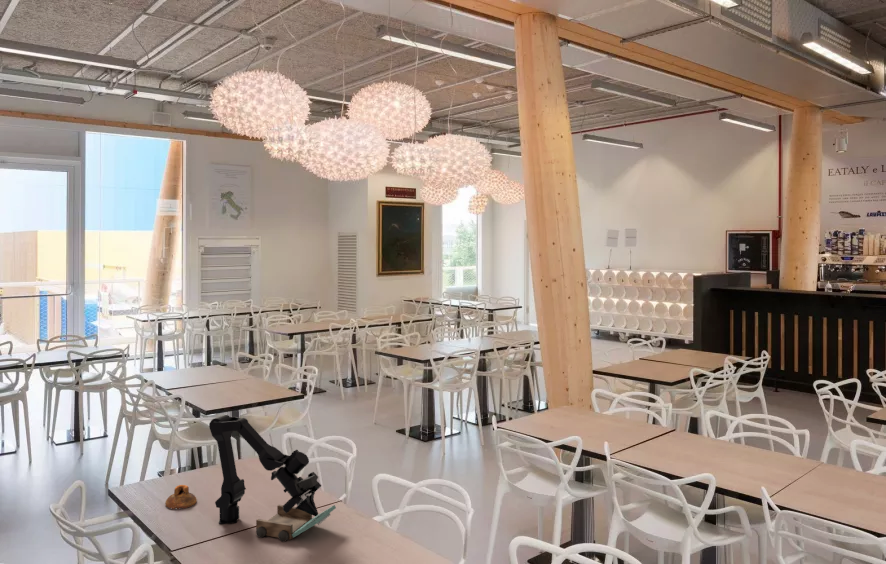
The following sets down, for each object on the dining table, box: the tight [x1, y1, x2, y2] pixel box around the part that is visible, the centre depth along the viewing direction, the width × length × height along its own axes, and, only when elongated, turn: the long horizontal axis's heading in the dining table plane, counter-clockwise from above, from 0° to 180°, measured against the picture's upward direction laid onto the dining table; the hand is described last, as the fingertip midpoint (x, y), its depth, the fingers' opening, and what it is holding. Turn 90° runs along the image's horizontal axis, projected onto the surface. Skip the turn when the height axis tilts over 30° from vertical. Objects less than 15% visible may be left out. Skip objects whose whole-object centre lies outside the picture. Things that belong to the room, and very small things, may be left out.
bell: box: [164, 484, 198, 510], centre depth 263 cm, size 12×12×7 cm
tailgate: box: [292, 505, 337, 539], centre depth 236 cm, size 2×15×11 cm
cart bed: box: [255, 504, 313, 542], centre depth 240 cm, size 14×17×6 cm
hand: (317, 515), depth 236 cm, fingers closed
